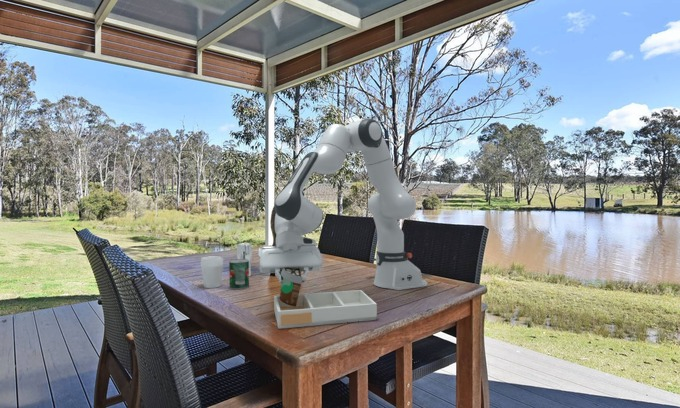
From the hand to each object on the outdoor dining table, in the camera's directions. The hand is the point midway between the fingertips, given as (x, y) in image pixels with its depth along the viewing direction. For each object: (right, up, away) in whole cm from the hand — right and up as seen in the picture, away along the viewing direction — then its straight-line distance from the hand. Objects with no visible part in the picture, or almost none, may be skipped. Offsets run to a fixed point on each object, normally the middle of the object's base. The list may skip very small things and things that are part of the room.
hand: (292, 282), depth 118 cm
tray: (+9, -11, +3) cm, 15 cm away
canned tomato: (-27, -10, +39) cm, 48 cm away
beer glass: (-30, -9, +59) cm, 66 cm away
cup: (-39, -10, +40) cm, 56 cm away
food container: (-3, -6, +2) cm, 7 cm away
